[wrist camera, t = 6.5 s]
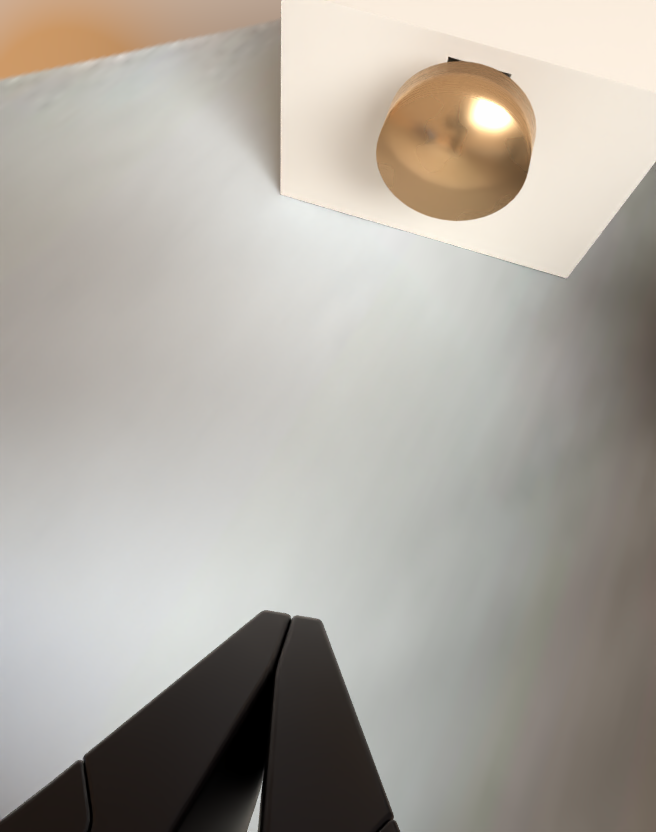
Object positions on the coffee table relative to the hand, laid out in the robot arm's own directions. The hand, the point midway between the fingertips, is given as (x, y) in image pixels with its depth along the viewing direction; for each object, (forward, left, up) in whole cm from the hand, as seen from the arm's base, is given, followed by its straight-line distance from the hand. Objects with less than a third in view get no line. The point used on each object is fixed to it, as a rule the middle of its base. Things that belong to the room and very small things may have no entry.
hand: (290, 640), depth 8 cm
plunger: (+15, -15, -8) cm, 23 cm away
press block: (+16, -17, -13) cm, 26 cm away
